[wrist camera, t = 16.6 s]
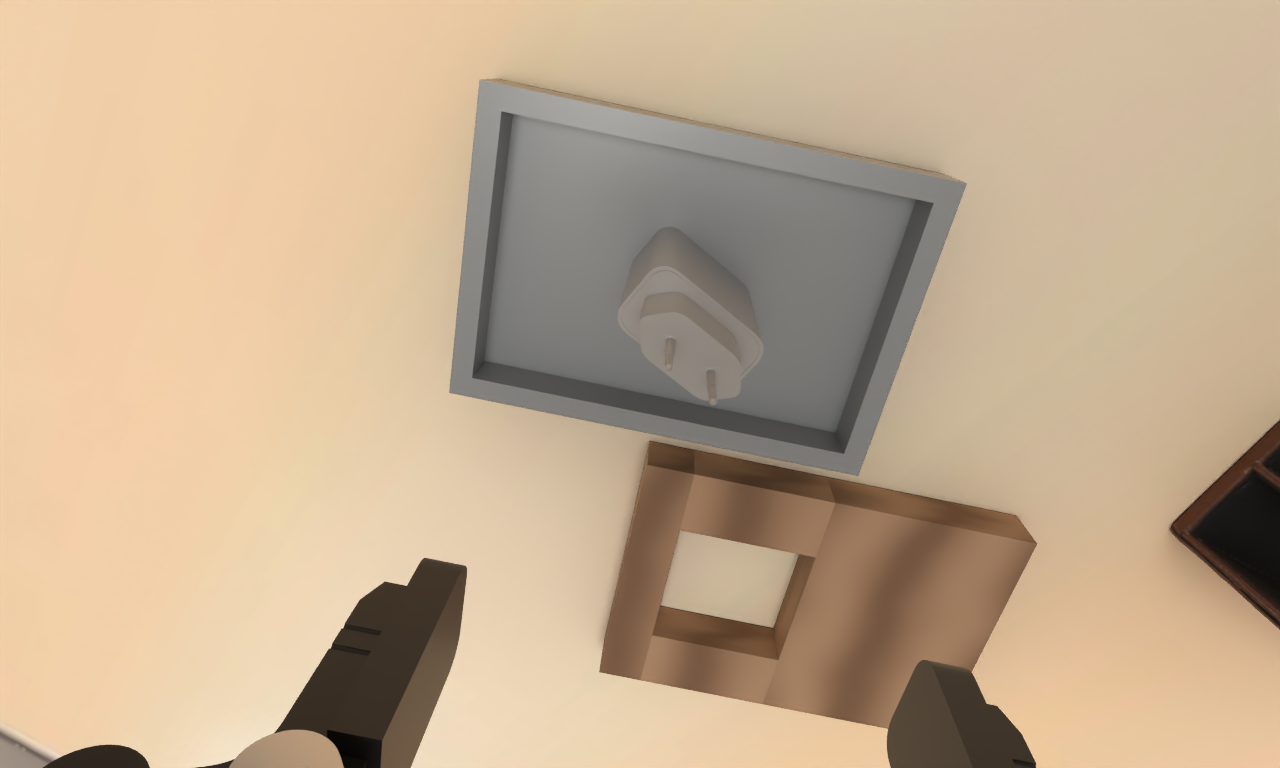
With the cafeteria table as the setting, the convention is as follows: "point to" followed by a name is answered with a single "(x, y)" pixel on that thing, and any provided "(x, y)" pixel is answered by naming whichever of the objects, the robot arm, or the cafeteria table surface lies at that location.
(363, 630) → the robot arm
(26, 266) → the cafeteria table surface
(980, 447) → the cafeteria table surface
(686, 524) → the dock board
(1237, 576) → the letter holder
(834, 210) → the tray
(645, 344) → the power adapter
